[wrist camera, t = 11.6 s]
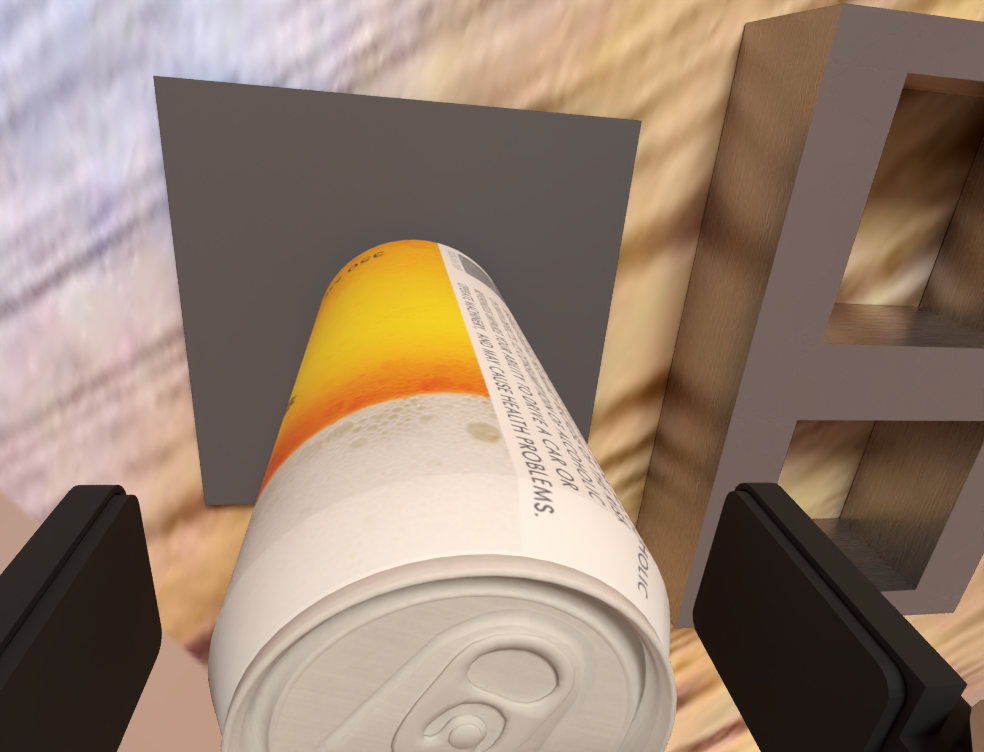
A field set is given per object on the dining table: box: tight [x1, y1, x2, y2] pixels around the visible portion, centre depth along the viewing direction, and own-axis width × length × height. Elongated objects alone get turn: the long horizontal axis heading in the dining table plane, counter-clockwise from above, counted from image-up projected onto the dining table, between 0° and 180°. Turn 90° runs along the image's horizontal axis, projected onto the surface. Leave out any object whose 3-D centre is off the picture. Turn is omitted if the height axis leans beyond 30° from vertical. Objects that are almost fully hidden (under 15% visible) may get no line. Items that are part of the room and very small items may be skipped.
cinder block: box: [636, 3, 984, 628], centre depth 22 cm, size 20×12×4 cm, turn 175°
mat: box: [153, 76, 641, 505], centre depth 21 cm, size 14×14×1 cm
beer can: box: [208, 240, 677, 752], centre depth 14 cm, size 6×6×15 cm
